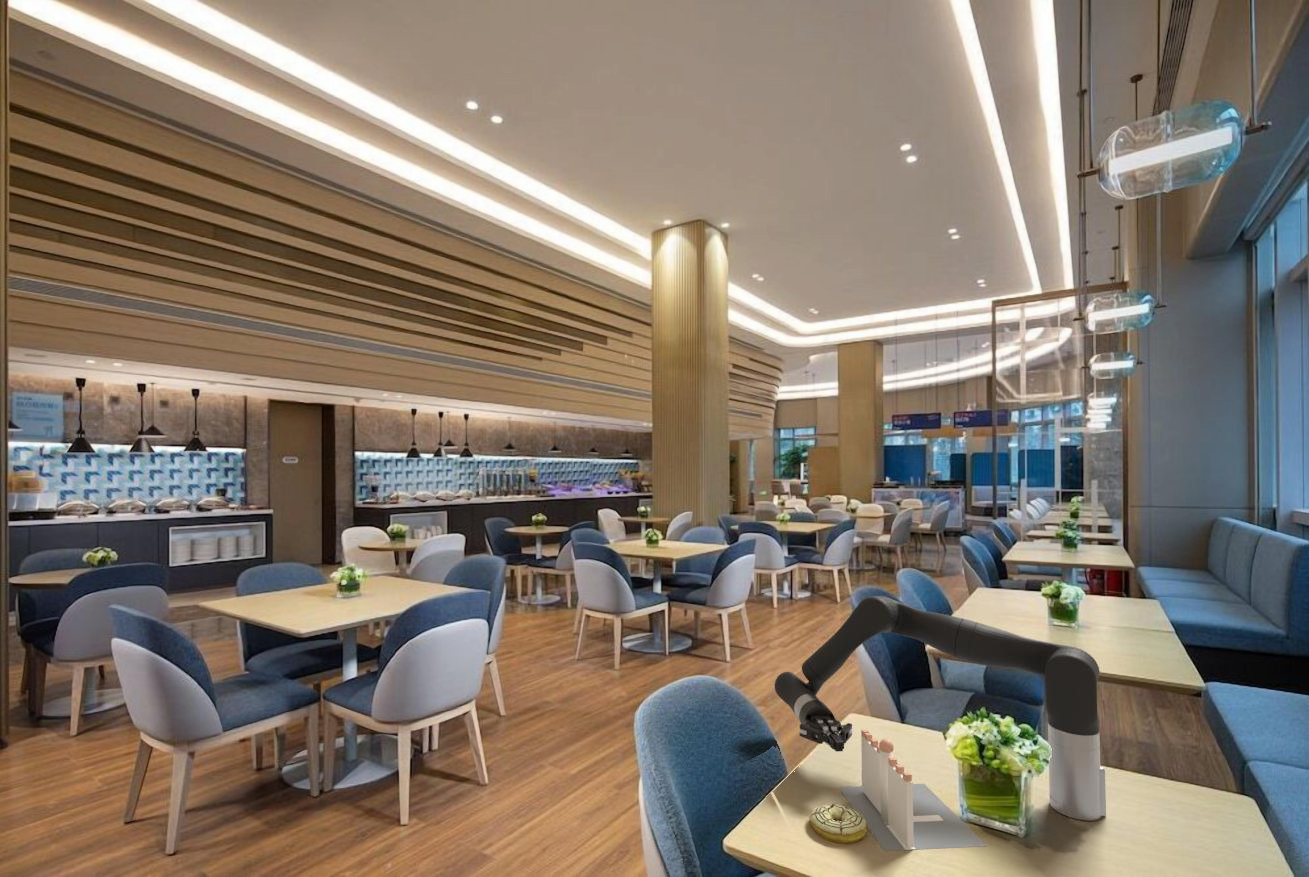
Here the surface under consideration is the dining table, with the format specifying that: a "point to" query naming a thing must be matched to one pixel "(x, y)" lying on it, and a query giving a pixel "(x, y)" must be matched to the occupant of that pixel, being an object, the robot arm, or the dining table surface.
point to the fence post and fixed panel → (896, 794)
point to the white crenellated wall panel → (871, 769)
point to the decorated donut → (838, 823)
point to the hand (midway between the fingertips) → (839, 746)
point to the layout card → (916, 822)
